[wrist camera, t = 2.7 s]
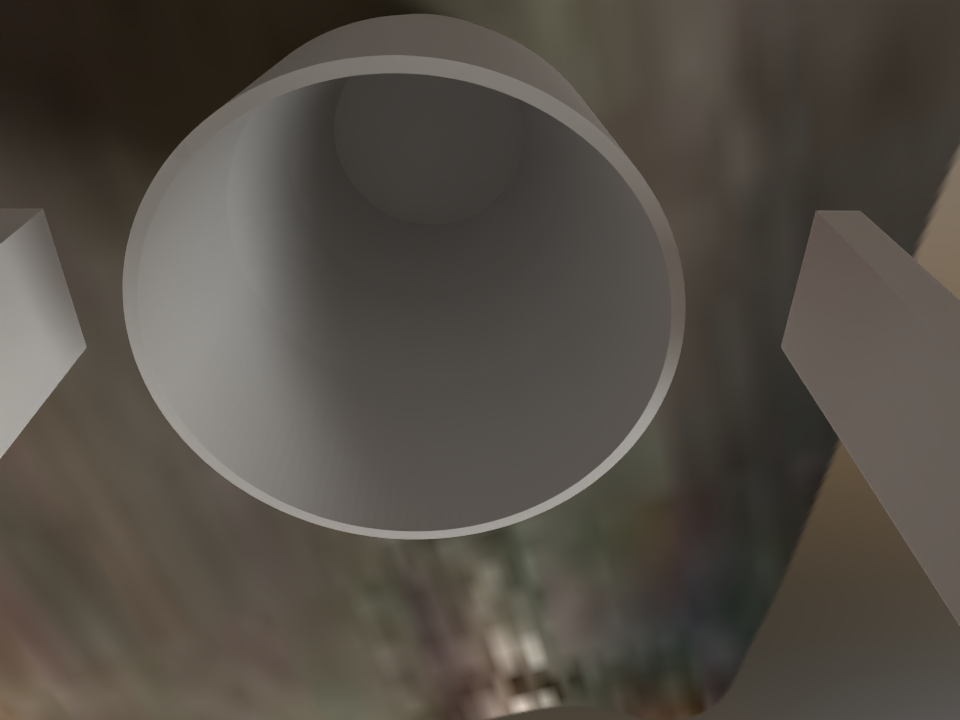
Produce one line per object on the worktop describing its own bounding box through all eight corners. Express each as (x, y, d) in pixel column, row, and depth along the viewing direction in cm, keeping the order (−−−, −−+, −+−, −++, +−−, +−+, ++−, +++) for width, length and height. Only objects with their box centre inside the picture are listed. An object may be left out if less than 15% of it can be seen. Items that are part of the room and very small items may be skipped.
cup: (532, 303, 23) (578, 572, 14) (249, 239, 21) (116, 495, 13) (635, 11, 18) (785, 151, 10) (288, -92, 17) (128, -30, 9)
